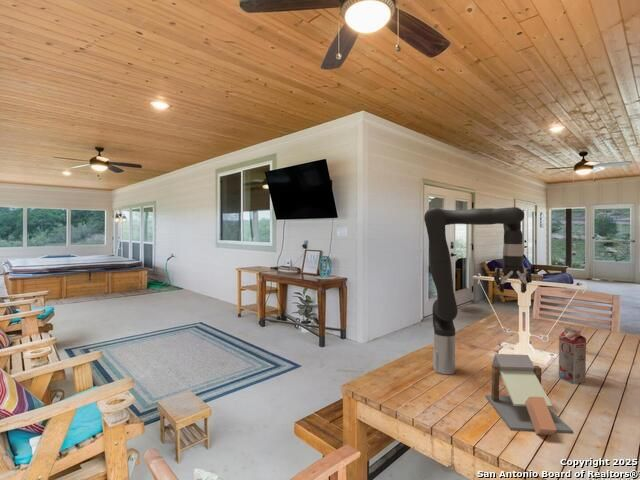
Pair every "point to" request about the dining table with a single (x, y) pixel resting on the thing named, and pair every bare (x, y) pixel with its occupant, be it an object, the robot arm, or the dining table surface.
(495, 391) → the posts
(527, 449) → the dining table surface
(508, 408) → the mat
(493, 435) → the dining table surface
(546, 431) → the brick
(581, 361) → the juice carton
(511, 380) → the trapdoor
